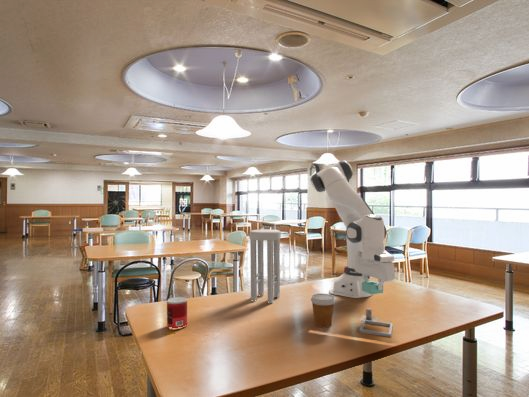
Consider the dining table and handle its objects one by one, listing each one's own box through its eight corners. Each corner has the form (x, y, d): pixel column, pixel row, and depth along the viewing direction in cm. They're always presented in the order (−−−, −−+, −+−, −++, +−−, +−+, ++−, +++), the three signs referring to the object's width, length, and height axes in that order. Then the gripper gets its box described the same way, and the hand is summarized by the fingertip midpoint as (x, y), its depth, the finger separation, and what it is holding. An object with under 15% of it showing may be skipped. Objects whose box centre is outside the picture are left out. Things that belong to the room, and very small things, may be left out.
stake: (358, 322, 136) (358, 310, 136) (361, 317, 142) (361, 305, 142) (376, 325, 133) (376, 313, 133) (378, 319, 139) (378, 307, 139)
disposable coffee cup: (320, 333, 126) (320, 301, 126) (306, 324, 134) (306, 295, 134) (340, 328, 130) (340, 298, 130) (325, 320, 138) (325, 292, 138)
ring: (371, 294, 133) (371, 285, 133) (361, 290, 139) (361, 282, 139) (383, 292, 136) (383, 284, 136) (372, 288, 141) (373, 280, 141)
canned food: (190, 324, 136) (190, 297, 136) (179, 331, 128) (179, 303, 128) (174, 322, 138) (174, 295, 138) (163, 329, 131) (162, 301, 131)
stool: (245, 301, 164) (244, 231, 164) (257, 293, 179) (257, 228, 179) (274, 305, 159) (273, 232, 159) (284, 296, 173) (284, 229, 173)
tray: (359, 334, 124) (359, 329, 124) (363, 324, 134) (363, 319, 134) (390, 339, 119) (390, 334, 119) (392, 328, 129) (392, 323, 129)
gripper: (350, 250, 145) (350, 281, 145) (385, 258, 127) (384, 294, 127) (362, 249, 148) (362, 280, 148) (397, 257, 129) (397, 292, 129)
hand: (372, 287), depth 137 cm, fingers closed on ring, 6 cm apart
